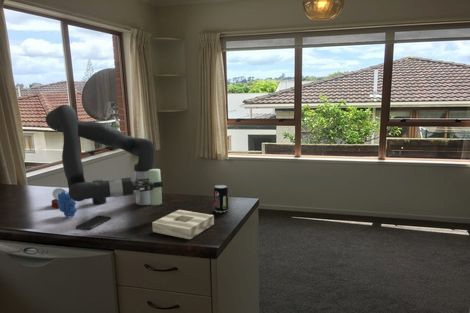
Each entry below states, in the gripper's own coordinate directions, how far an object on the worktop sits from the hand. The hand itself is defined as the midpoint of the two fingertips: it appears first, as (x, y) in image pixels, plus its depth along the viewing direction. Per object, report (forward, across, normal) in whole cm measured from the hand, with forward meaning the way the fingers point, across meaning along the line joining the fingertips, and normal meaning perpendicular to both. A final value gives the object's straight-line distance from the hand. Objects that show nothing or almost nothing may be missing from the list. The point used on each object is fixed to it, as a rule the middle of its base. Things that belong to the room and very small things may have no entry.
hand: (161, 182), depth 159 cm
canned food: (-43, +42, +17) cm, 62 cm away
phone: (-29, +7, +17) cm, 34 cm away
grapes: (-40, +21, +16) cm, 48 cm away
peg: (-3, 0, +9) cm, 9 cm away
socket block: (+6, -15, +16) cm, 23 cm away
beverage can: (+27, -1, +17) cm, 32 cm away
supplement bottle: (-25, +39, +17) cm, 49 cm away
